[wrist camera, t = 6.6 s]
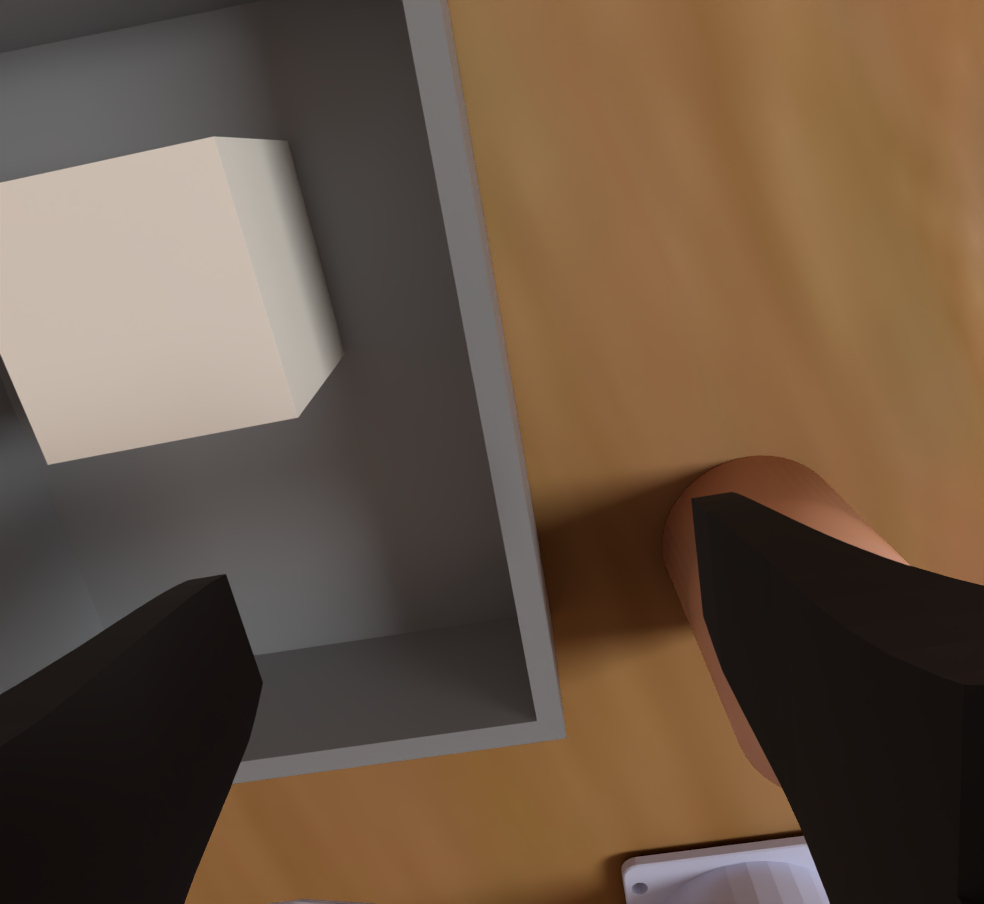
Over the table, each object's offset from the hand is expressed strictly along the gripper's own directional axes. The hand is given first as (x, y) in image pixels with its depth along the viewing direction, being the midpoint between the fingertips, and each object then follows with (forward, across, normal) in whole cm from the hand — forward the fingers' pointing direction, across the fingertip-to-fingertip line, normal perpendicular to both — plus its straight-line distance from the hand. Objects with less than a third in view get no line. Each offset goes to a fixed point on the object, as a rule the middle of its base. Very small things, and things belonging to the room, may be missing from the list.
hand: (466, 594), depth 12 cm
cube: (+9, +6, -5) cm, 11 cm away
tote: (+9, +6, -2) cm, 11 cm away
